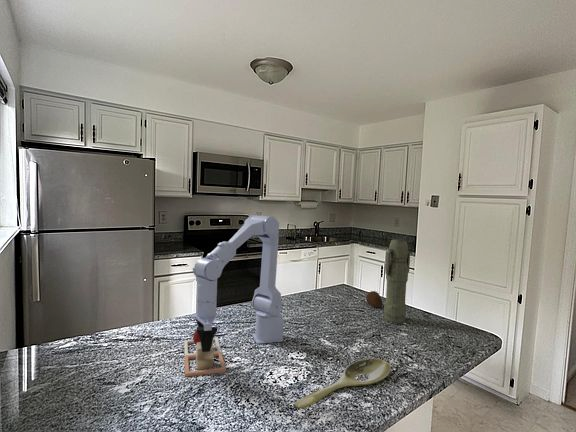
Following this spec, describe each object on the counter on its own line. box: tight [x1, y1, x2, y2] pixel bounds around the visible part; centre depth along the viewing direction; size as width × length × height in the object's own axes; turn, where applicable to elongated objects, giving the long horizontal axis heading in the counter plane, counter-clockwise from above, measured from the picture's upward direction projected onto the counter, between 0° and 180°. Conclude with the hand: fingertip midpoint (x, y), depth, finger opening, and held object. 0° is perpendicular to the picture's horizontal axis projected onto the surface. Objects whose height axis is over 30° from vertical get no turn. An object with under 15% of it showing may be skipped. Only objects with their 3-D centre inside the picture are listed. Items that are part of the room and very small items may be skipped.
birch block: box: [195, 342, 215, 371], centre depth 97 cm, size 4×4×6 cm
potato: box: [365, 290, 383, 308], centre depth 161 cm, size 7×10×7 cm
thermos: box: [383, 238, 411, 325], centre depth 141 cm, size 9×12×35 cm
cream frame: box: [183, 337, 222, 356], centre depth 107 cm, size 11×11×1 cm
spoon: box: [294, 357, 392, 409], centre depth 90 cm, size 35×11×2 cm, turn 127°
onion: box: [192, 329, 201, 347], centre depth 107 cm, size 6×6×8 cm
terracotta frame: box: [184, 351, 227, 378], centre depth 97 cm, size 11×11×1 cm
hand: (205, 345), depth 97 cm, fingers open, 7 cm apart
